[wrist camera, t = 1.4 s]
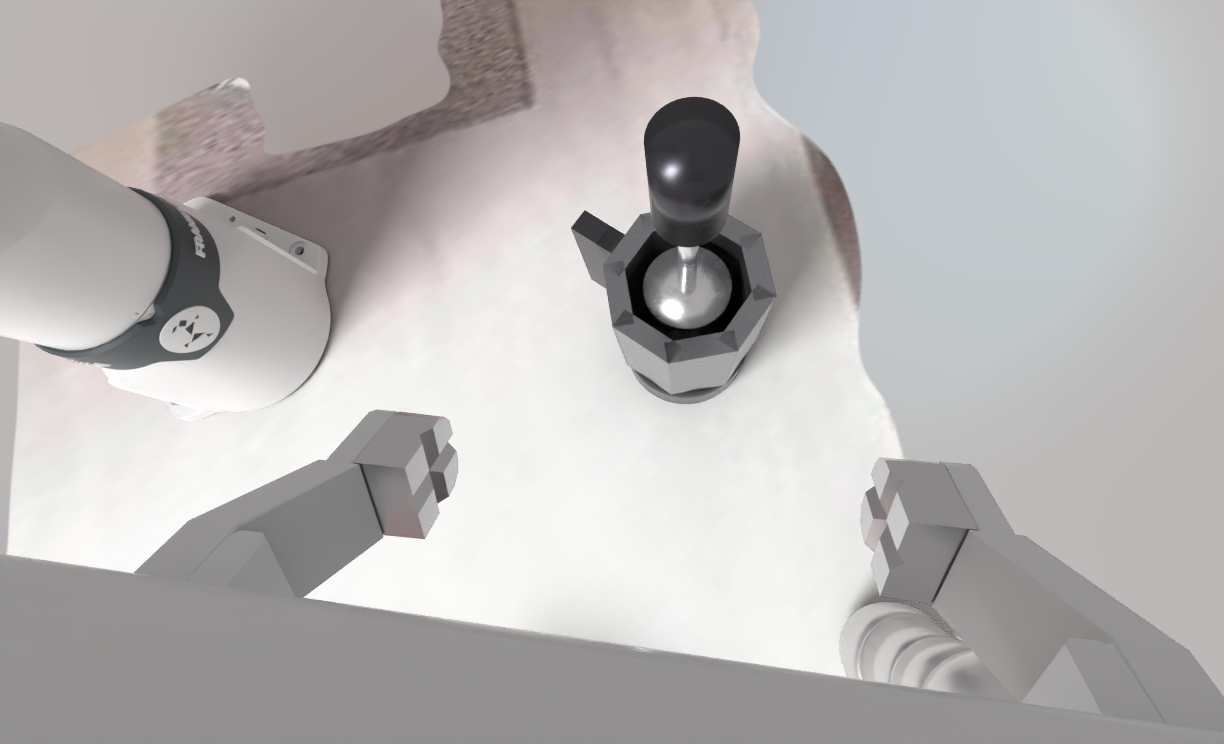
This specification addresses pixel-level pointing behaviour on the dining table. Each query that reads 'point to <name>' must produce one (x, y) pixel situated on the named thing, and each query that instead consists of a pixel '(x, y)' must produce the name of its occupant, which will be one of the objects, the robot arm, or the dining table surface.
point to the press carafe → (661, 354)
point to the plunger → (689, 209)
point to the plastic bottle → (912, 653)
